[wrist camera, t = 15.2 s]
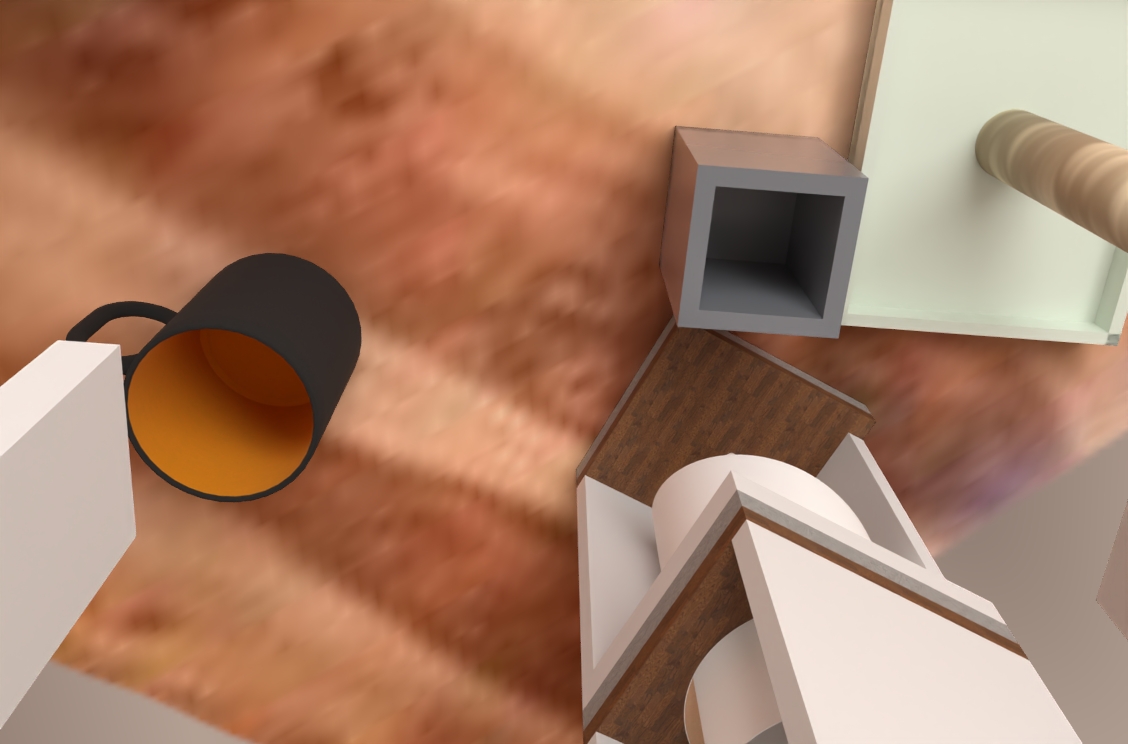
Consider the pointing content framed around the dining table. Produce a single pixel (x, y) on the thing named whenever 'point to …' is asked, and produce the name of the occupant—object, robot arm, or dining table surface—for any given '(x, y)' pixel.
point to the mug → (238, 376)
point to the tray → (963, 189)
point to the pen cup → (759, 232)
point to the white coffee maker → (773, 575)
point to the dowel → (1059, 170)
